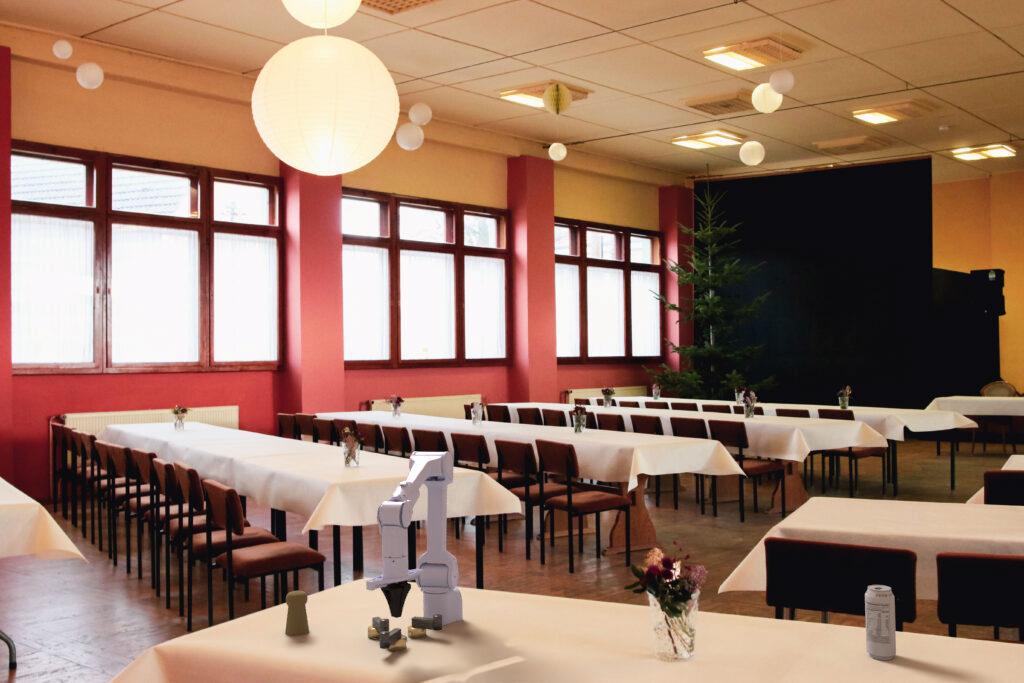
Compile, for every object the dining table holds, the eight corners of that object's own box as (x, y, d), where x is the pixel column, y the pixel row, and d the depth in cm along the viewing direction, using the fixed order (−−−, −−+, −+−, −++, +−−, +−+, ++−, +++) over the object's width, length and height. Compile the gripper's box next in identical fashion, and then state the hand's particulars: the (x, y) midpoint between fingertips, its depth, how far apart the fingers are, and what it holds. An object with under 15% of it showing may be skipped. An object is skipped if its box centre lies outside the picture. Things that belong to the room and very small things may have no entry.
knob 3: (404, 637, 214) (404, 615, 214) (413, 631, 218) (413, 610, 218) (437, 641, 211) (437, 618, 211) (446, 635, 215) (445, 613, 215)
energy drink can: (901, 656, 197) (899, 587, 197) (888, 663, 193) (886, 592, 194) (874, 649, 202) (872, 582, 202) (861, 656, 198) (859, 587, 198)
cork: (303, 641, 216) (302, 595, 216) (280, 640, 217) (279, 594, 218) (314, 633, 222) (313, 588, 222) (291, 632, 223) (290, 588, 224)
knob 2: (392, 644, 209) (391, 621, 209) (409, 645, 208) (408, 623, 208) (373, 656, 201) (373, 633, 201) (391, 658, 199) (391, 635, 199)
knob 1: (365, 634, 217) (364, 613, 217) (382, 631, 219) (382, 610, 219) (377, 645, 209) (376, 622, 209) (395, 642, 211) (394, 619, 211)
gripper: (409, 547, 209) (410, 606, 209) (357, 558, 199) (358, 620, 199) (429, 551, 204) (430, 611, 204) (376, 563, 194) (377, 626, 194)
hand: (396, 616), depth 201 cm, fingers closed
